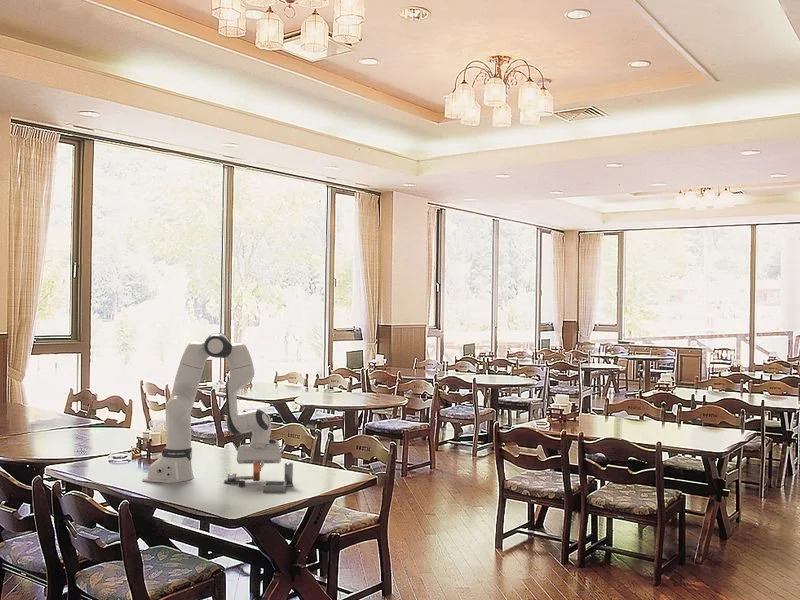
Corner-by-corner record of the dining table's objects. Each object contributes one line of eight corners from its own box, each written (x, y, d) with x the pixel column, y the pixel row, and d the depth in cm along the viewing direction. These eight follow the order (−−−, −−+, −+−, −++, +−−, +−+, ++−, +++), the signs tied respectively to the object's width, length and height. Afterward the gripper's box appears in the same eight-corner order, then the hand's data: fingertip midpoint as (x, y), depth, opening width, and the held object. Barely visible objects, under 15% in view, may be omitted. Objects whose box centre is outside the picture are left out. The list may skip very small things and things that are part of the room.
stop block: (238, 486, 338) (238, 480, 338) (242, 485, 339) (242, 480, 339) (240, 486, 337) (241, 481, 337) (244, 486, 338) (244, 480, 338)
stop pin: (282, 486, 338) (283, 464, 338) (283, 484, 343) (284, 462, 343) (292, 487, 338) (293, 464, 339) (293, 484, 343) (294, 462, 343)
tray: (263, 492, 328) (263, 485, 328) (265, 487, 337) (265, 481, 337) (284, 492, 328) (284, 486, 328) (286, 487, 337) (286, 481, 337)
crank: (226, 481, 343) (227, 461, 343) (228, 479, 347) (228, 460, 347) (259, 481, 344) (259, 462, 344) (260, 479, 348) (260, 460, 348)
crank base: (222, 484, 341) (222, 482, 341) (225, 480, 348) (225, 478, 348) (238, 484, 341) (238, 482, 341) (240, 480, 348) (241, 479, 348)
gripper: (237, 441, 354) (234, 467, 345) (281, 440, 356) (279, 466, 346) (238, 448, 359) (235, 474, 349) (282, 448, 360) (280, 474, 351)
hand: (257, 470), depth 348 cm, fingers closed, pressing on crank
